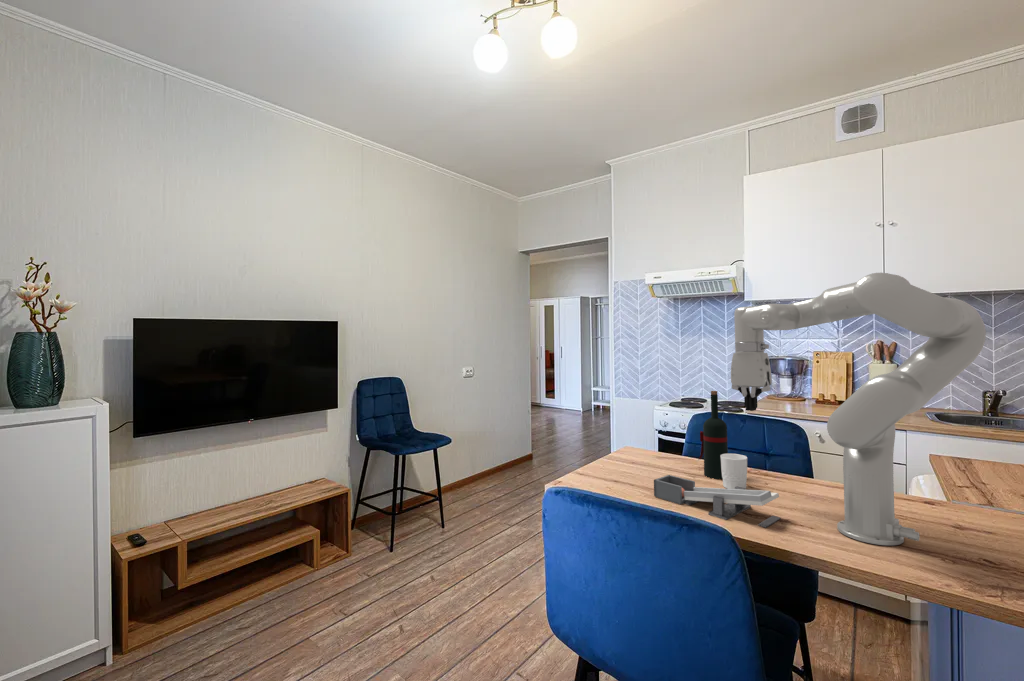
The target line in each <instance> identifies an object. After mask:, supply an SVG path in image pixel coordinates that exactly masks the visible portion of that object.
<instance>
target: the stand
mask: <svg viewBox="0 0 1024 681" xmlns="http://www.w3.org/2000/svg"><path fill="white" fill-rule="evenodd" d="M735 489H742V490H746V489H745V488H742V487H738V486H736V487H735ZM699 502H700V501H693V500H689V501H687V502H684V503H683V505H687V506H692V505H694V504H697V503H699ZM712 504H713V505H712V507H713V508H712V510H711V511H708V512H707V513H708V514H707V515H709V516H712V517H715V518H719V519H721V520H724V521H727V520H729V519H731V518H733V517H735V516H736V515H739V514H741V513H743V512H744V511H746V510H749V509H751V507H752V505H745V504H732V503H724V498H722V497H718V496H713V502H712ZM781 519H782V517H781V516H780V517H779V516H775V515H772V516H769V517H768V518H766V519H764V520H762V521H761V522H759V523H758V524H757V526H759V527H760V528H765V529H766V528H768V527H770V526H772V525H773V524H775V523H777V522H778V521H779V520H781Z"/></svg>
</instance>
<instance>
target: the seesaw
mask: <svg viewBox="0 0 1024 681" xmlns="http://www.w3.org/2000/svg"><path fill="white" fill-rule="evenodd" d="M693 489H694V491H683V492H684V497H685V500H693V501H699V502H707V503H713V496H718V497H722V498H724V504H727V503H732V504H745V505H751V506H760V507H761V506H764V505H766V504H769V503H771V502H772V501H774V500H776V499H777V498H779V497H780V495H779V492H771V490H761V489H760V490H759V489H758V490H757V489H745V490H742V489H727V488H724V487H723V488H719V487H701V486H700V487H699V486H698V487H697V486H695V487H694V488H693Z"/></svg>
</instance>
